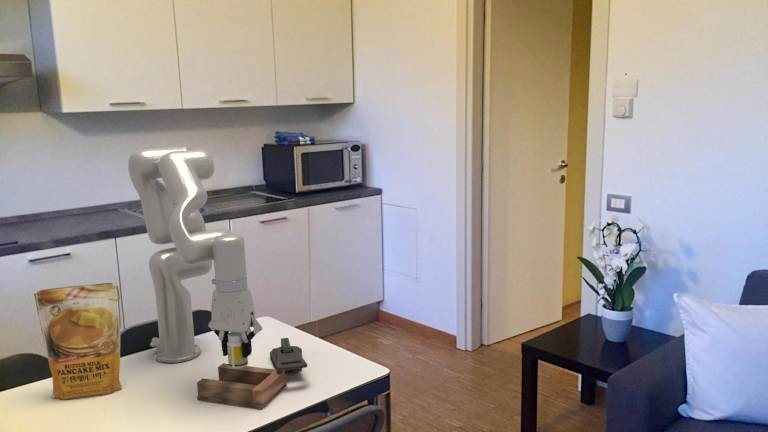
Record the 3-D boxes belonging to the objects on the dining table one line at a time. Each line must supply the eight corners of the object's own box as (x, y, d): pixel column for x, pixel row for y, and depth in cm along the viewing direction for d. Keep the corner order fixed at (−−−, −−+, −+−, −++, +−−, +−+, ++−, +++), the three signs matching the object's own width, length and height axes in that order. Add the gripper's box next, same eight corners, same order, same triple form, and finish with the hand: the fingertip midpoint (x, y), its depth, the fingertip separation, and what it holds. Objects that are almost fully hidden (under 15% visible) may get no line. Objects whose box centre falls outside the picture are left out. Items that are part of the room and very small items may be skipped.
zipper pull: (274, 368, 163) (268, 333, 187) (275, 393, 165) (269, 355, 188) (309, 364, 165) (299, 330, 189) (311, 388, 167) (300, 351, 190)
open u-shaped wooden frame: (197, 400, 161) (195, 383, 160) (225, 378, 173) (224, 362, 173) (262, 409, 156) (261, 392, 155) (286, 386, 168) (285, 369, 167)
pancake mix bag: (50, 391, 168) (36, 287, 163) (129, 381, 173) (118, 279, 168) (44, 403, 162) (29, 295, 156) (126, 392, 167) (115, 287, 161)
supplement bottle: (251, 362, 165) (249, 331, 163) (241, 370, 160) (239, 337, 159) (235, 360, 166) (233, 329, 165) (224, 368, 162) (222, 335, 161)
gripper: (192, 286, 159) (199, 357, 162) (254, 290, 153) (260, 364, 157) (210, 278, 166) (215, 346, 169) (270, 282, 160) (274, 352, 164)
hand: (237, 354), depth 163 cm, fingers closed on supplement bottle, 4 cm apart
